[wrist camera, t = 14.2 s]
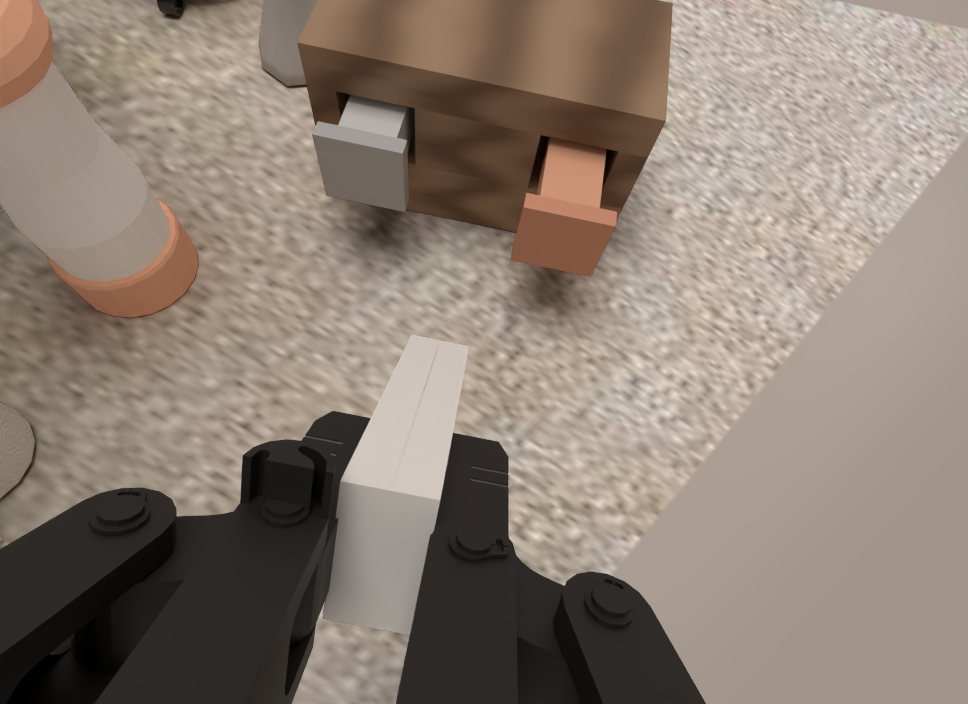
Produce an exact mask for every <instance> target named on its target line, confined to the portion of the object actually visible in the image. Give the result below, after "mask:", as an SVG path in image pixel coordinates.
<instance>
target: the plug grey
mask: <svg viewBox="0 0 968 704" xmlns="http://www.w3.org/2000/svg"><path fill="white" fill-rule="evenodd" d="M414 131H415V108H411V107H407V106H402V105H397V104H392V103H388V102H383V101H378V100H374V99H369V98H364V97H359V96H355V95H350V97H349V99H348V102H347V104H346V107H345V109H344V112H343V114H342V117H341V119H340V122H339V124H338V125H333V124H329V123H324V122H319V121H318V122H317V124H316V127H315V129H314V131H313V134H312V136H313V140H314V144H315V149H316V153H317V157H318V161H319V166H320V170H321V174H322V179H323V183H324V187H325V191H326V196H331V197H335V198H340V199H345V200H350V201H354V202H359V203H364V204H369V205H374V206H378V207H383V208H388V209H393V210H397V211H402V212H406V208H407V205H408V202H409V182H408V150H409V146H410V143H411V140H412V137H413V134H414Z"/></svg>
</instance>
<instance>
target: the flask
mask: <svg viewBox="0 0 968 704" xmlns="http://www.w3.org/2000/svg"><path fill="white" fill-rule="evenodd" d="M316 2H317V0H264V3H263V12H262V20H261V27H260V36H259V48H260V55H261V63H262V68H263V69H265V70H266V71H268V72H269V73H270V74H272V75H273V76H274V77H276V78H277V79H278V80H280V81H281V82H282V83H284V84H285V85H287V86H293V85H305V84H306V80H305V76H304V71H303V67H302V62H301V58H300V53H299V49H298V44H297V42H298V39H299V37H300V35H301V33H302V31H303V29H304V27H305V25H306V23H307V21H308V19H309V17H310V15H311V13H312V11H313V9H314V6H315V4H316Z"/></svg>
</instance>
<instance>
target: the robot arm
mask: <svg viewBox="0 0 968 704" xmlns="http://www.w3.org/2000/svg"><path fill="white" fill-rule="evenodd" d="M468 350H469V346H465V345H461V344H456V343H451V342H446V341H441V340H436V339H431V338H426V337H421V336H416V335H411V337H410V339H409V341H408V343H407V345H406V347H405V349H404V351H403V353H402V356H401V358H400V360H399V362H398V364H397V366H396V368H395V370H394V372H393V374H392V376H391V378H390V380H389V382H388V384H387V386H386V388H385V390H384V392H383V394H382V397H381V399H380V401H379V403H378V405H377V407H376V409H375V411H374V413H373V415H372V417H371V418H366V417H361V416H356V415H351V414H346V413H341V412H336V411H332V412H330V413H328V414H326V415H325V416H323V417H321V418H319V419H317V420H316V421H315V422H314V423H313V425H312V426H311V428H310V429H309V431H308V432H307V433H306V436H305V437H304V438H303V439H302V441H297V440H279V441H270V442H267V443H264V444H261V445H258V446H255V447H253V448H252V449H251V450H249V451H248V452H247V453H245V454H244V455H243V463H242V482H241V500H240V504H239V505H238V507H237V508H236V509H235V511H234V512H230V513H226V514H218V515H208V516H178V517H176V507H175V505H174V503H173V501H172V499H171V498H169V497H168V496H166V495H164V494H163V493H161V492H159V491H155V490H150V489H146V488H121V489H117V490H112V491H107V492H103V493H100V494H97V495H95V496H93V497H91V498H88V499H86V500H84V501H82V502H80V503H78V504H76V505H75V506H73V507H71V508H70V509H68V510H66V511H65V512H63V513H61V514H59V515H58V516H56V517H54V518H53V519H51V520H49V521H48V522H46V523H44V524H43V525H41V526H39V527H37V528H36V529H34V530H32V531H31V532H29V533H27V534H26V535H24V536H22V537H20V538H19V539H17V540H15V541H14V542H12V543H10V544H9V545H7V546H5V547H3V548H2V549H0V704H292V701H293V698H294V696H295V693H296V690H297V688H298V685H299V683H300V680H301V677H302V675H303V672H304V669H305V667H306V664H307V661H308V659H309V656H310V654H311V651H312V648H313V642H314V635H315V627H316V622H317V619H318V617H319V614H320V612H321V609H322V607H323V604H324V601H325V604H324V612H323V619H326V620H332V621H337V622H342V623H348V624H353V625H359V626H364V627H369V628H375V629H380V630H386V631H391V632H396V633H402V634H407V635H410V637H409V642H408V647H407V652H406V656H405V661H404V666H403V671H402V676H401V681H400V686H399V691H398V695H397V701H396V704H706V703H705V701H704V700H703V698H702V696H701V694H700V693H699V691H698V689H697V687H696V686H695V684H694V682H693V680H692V679H691V677H690V675H689V673H688V672H687V670H686V668H685V666H684V665H683V663H682V661H681V659H680V658H679V656H678V654H677V652H676V651H675V649H674V647H673V645H672V644H671V642H670V640H669V638H668V636H667V635H666V633H665V631H664V630H663V628H662V626H661V624H660V622H659V621H658V619H657V617H656V615H655V614H654V612H653V610H652V608H651V607H650V605H649V604H648V603H647V602H646V600H645V599H644V598H643V597H642V595H641V594H640V593H639V592H638V591H636V590H635V589H634V588H632V587H631V586H630V585H629V584H627V583H626V582H624V581H622V580H620V579H617V578H615V577H613V576H611V575H608V574H603V573H597V572H586V573H579V574H576V575H575V576H573V577H572V578H570V579H569V580H568V581H567V582H566V584H565V586H563V585H561V584H559V583H557V582H554V581H552V580H550V579H548V578H545V577H543V576H542V575H540V574H538V573H536V572H534V571H533V570H531V569H530V568H529V567H527V566H526V565H525V564H524V563H522V562H521V560H520V559H519V558H518V557H517V556H516V553H515V550H514V546H513V543H512V542H511V540H510V539H509V536H508V456H507V454H506V452H505V451H504V449H503V448H502V446H501V445H500V443H499V442H497V441H492V440H486V439H481V438H476V437H471V436H466V435H461V434H456V433H453V430H454V424H455V419H456V414H457V408H458V403H459V398H460V392H461V387H462V382H463V376H464V371H465V366H466V360H467V355H468Z"/></svg>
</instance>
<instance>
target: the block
mask: <svg viewBox="0 0 968 704" xmlns="http://www.w3.org/2000/svg"><path fill="white" fill-rule="evenodd" d="M672 5H673V4H672V3H668V2H663V1H659V0H317V2H316V4H315V6H314V9H313V11H312V13H311V15H310V17H309V19H308V21H307V23H306V25H305V27H304V29H303V31H302V33H301V35H300V37H299V39H298V42H297V44H298V49H299V53H300V58H301V62H302V67H303V71H304V76H305V80H306V85H307V89H308V94H309V98H310V103H311V107H312V112H313V116H314V121H315V125H316V124H317V122H318V121H319V122H324V123H329V124H333V125H338V124H339V122H340V119H341V117H342V114H343V112H344V109H345V107H346V104H347V102H348V99H349V97H350V95H355V96H359V97H364V98H369V99H374V100H378V101H383V102H388V103H392V104H397V105H402V106H407V107H411V108H415V131H414V134H413V137H412V140H411V143H410V146H409V150H408V182H409V202H408V205H407V208H406V210H411V211H416V212H420V213H425V214H430V215H435V216H440V217H444V218H449V219H454V220H459V221H463V222H468V223H473V224H478V225H483V226H487V227H492V228H497V229H502V230H506V231H511V232H516V233H517V229H518V225H519V221H520V217H521V213H522V209H523V205H524V201H525V197H526V193H530V194H535V195H536V194H537V188H538V183H539V177H540V172H541V166H542V160H543V155H544V149H545V144H546V138H547V136H548V137H553V138H558V139H562V140H567V141H572V142H576V143H581V144H586V145H591V146H595V147H600V148H605V149H607V150H606V158H605V167H604V175H603V184H602V193H601V201H600V208H601V209H606V210H611V211H615V212H617V218H618V216H619V214H620V212H621V210H622V208H623V206H624V204H625V202H626V200H627V198H628V196H629V194H630V192H631V190H632V188H633V186H634V184H635V182H636V180H637V178H638V176H639V174H640V172H641V170H642V168H643V166H644V164H645V162H646V160H647V158H648V156H649V154H650V152H651V150H652V148H653V146H654V144H655V142H656V140H657V138H658V136H659V134H660V132H661V130H662V128H663V126H664V124H665V122H666V109H667V92H668V75H669V57H670V40H671V22H672ZM616 220H617V219H616Z"/></svg>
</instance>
